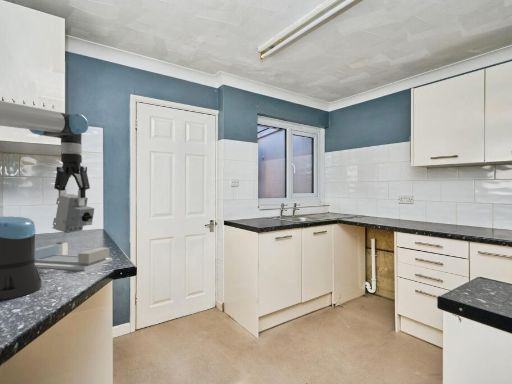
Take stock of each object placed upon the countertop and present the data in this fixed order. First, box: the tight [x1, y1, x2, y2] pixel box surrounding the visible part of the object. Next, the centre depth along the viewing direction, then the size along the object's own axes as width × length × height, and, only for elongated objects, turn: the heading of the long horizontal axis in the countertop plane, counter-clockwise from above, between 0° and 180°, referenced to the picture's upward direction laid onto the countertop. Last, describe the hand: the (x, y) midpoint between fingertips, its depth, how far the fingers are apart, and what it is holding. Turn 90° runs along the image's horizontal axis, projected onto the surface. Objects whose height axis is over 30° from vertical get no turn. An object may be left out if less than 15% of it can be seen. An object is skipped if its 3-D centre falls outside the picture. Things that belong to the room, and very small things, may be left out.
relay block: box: [53, 240, 69, 255], centre depth 137 cm, size 5×4×7 cm
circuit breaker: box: [52, 193, 95, 234], centre depth 121 cm, size 8×14×15 cm, turn 77°
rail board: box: [35, 244, 113, 272], centre depth 123 cm, size 16×32×6 cm, turn 79°
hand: (72, 205), depth 121 cm, fingers closed on circuit breaker, 9 cm apart
